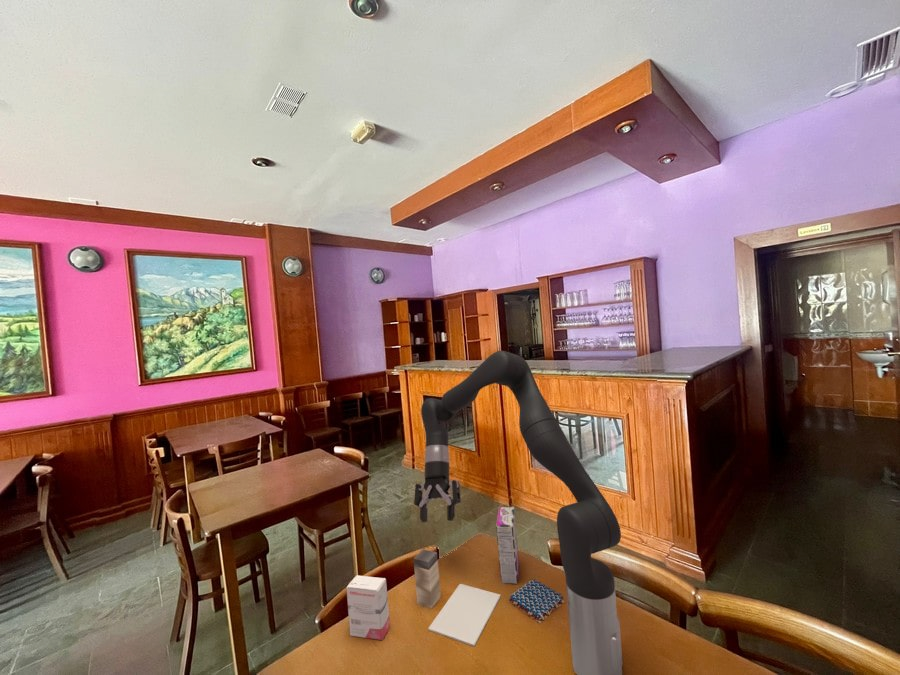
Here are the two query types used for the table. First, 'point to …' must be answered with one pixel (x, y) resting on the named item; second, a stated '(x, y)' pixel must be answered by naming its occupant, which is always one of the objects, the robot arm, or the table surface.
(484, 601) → the white rectangular board
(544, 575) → the table surface
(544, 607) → the woven mat
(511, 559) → the candy bar box
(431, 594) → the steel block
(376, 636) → the ink box
